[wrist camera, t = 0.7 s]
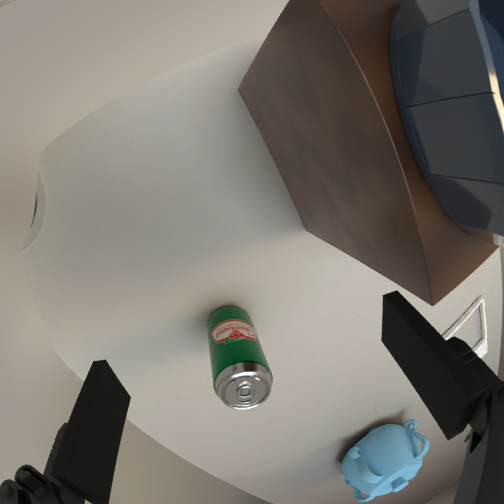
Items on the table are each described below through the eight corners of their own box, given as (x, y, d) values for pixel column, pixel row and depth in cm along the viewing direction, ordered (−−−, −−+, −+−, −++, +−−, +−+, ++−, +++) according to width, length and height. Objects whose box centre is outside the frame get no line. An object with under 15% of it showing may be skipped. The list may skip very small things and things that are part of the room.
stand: (237, 89, 27) (302, -22, 8) (363, 49, 28) (482, -11, 9) (306, 231, 32) (432, 307, 13) (414, 172, 33) (548, 190, 14)
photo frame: (443, 397, 46) (433, 351, 41) (440, 394, 48) (429, 348, 42) (487, 352, 46) (484, 297, 41) (484, 349, 47) (480, 295, 42)
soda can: (250, 302, 33) (277, 365, 22) (250, 340, 35) (274, 408, 23) (205, 305, 32) (212, 371, 21) (208, 343, 34) (216, 415, 22)
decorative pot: (341, 432, 44) (372, 487, 31) (412, 404, 46) (449, 446, 33) (332, 473, 48) (354, 519, 35) (394, 449, 50) (421, 487, 38)
